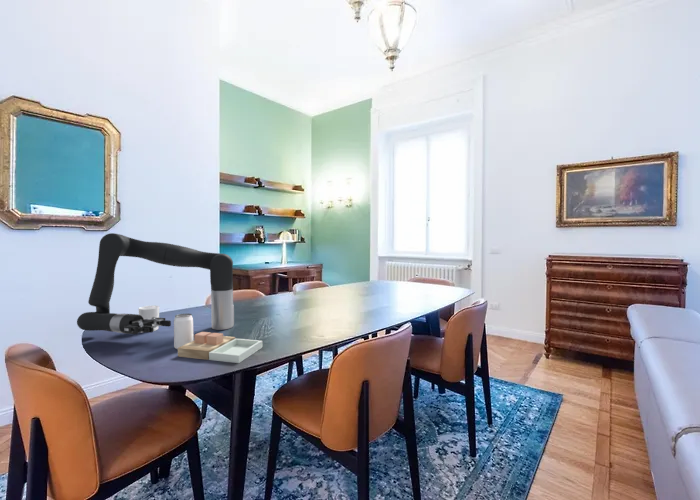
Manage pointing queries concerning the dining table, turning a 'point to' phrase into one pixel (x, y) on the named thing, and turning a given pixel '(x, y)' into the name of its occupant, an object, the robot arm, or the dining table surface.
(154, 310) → the white cup
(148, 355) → the dining table surface
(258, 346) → the tray
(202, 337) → the tile
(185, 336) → the can
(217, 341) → the tile
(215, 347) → the board
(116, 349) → the dining table surface
